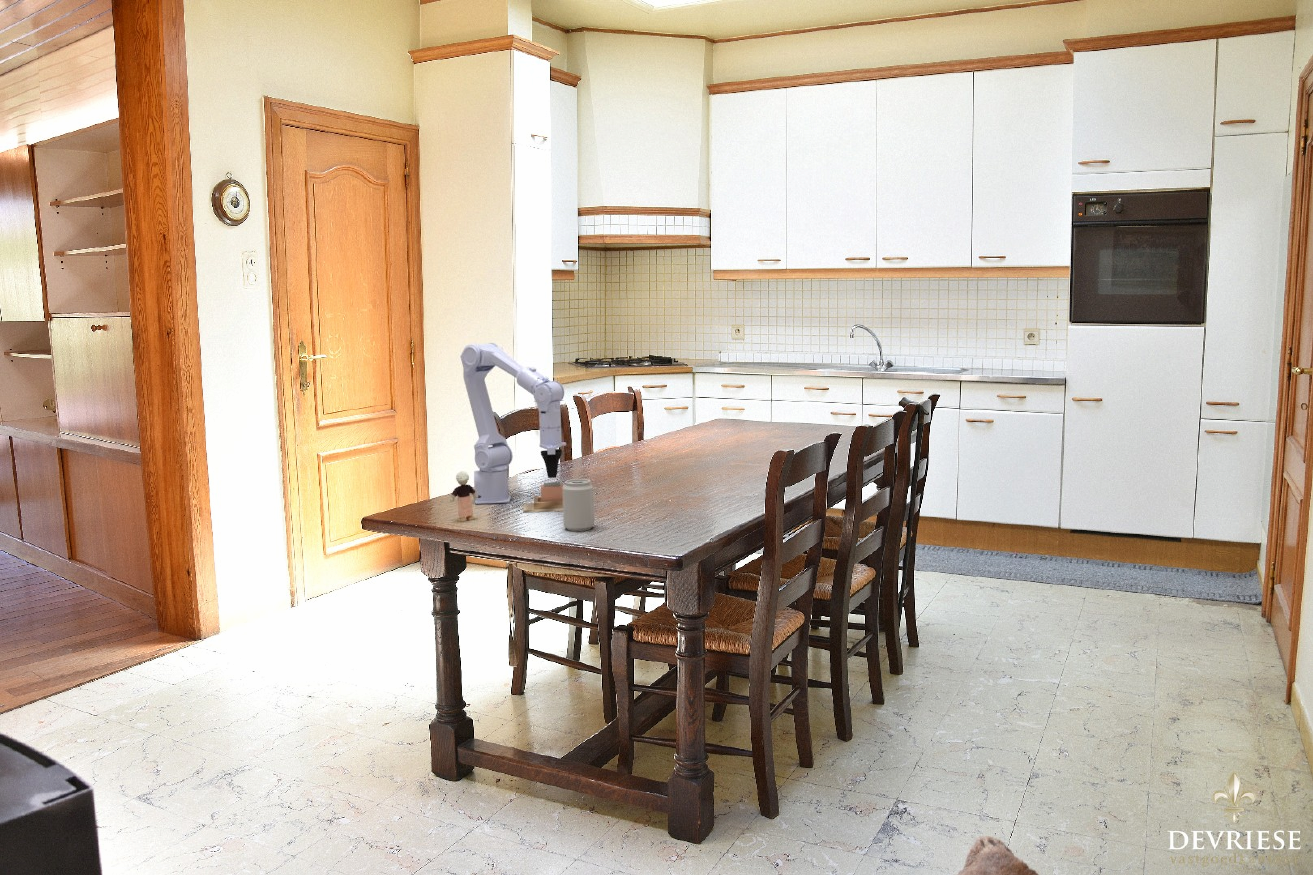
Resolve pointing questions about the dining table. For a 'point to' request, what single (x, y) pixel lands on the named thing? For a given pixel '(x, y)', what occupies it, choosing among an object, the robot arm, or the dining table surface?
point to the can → (578, 505)
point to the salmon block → (551, 492)
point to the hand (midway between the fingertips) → (552, 477)
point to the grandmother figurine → (464, 497)
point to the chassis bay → (543, 506)
